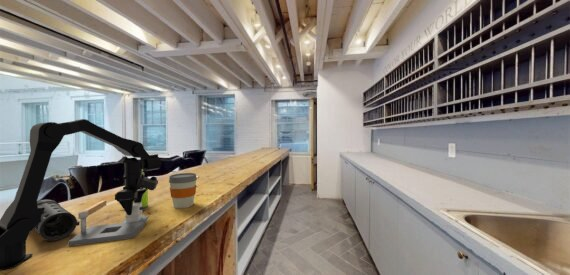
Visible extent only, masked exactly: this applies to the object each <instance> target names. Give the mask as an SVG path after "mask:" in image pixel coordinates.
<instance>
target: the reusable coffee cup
mask: <svg viewBox="0 0 570 275" xmlns="http://www.w3.org/2000/svg"><path fill="white" fill-rule="evenodd" d="M168 177H169V179H168V183H169V186H170V187H169V191H170V192H169V193H170V198H172V206H173V208H174V209H175V208H176V209H185V208H189V207H192V206H193V205H194V201H195V195H196V193H197V192H196V191H197V180H198V177H197V173H194V172H185V173H175V174H171V175H169V176H168Z"/></svg>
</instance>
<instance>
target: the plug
mask: <svg viewBox="0 0 570 275" xmlns="http://www.w3.org/2000/svg"><path fill="white" fill-rule="evenodd" d="M146 210H147V207H142V202H139V203H134V202H133V208H132V214H131V215H127V213H126V212H125V216H124V219H126V222H135V221H139V220H140V219H141V218H142V216H143V213H144V211H146Z"/></svg>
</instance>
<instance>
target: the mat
mask: <svg viewBox="0 0 570 275" xmlns="http://www.w3.org/2000/svg"><path fill="white" fill-rule="evenodd" d="M148 218H149V215H142V218H141V219H140V220H139V221H144V220H147V219H148ZM125 222H126V218H124V220H123V221H121V223H125Z"/></svg>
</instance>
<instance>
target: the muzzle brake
mask: <svg viewBox="0 0 570 275" xmlns="http://www.w3.org/2000/svg"><path fill="white" fill-rule="evenodd" d="M37 203H38V206H41V207H44V208H45V209H44V212H43V213H42V216H41V222H38V224H37V226H36V227H35V228H34V229H35V231H36V232H37V233H38V234H39V235H40V237H41V238H42V239H44V240H47V241H60V240H62V239H65V238H67V237H68V236H70V235H71V234H72V233H73V232H74V231H75V229H76V228H77V226H80V224H81V221H79V220H78V219H77V217H76V216H75V215H74V214H73V213H71V212H70V211H69V210H67V209H65V208H64V207H62V206H61V204H60V203H58V202H57V201H56V200H53V199H42V200H37Z"/></svg>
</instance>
